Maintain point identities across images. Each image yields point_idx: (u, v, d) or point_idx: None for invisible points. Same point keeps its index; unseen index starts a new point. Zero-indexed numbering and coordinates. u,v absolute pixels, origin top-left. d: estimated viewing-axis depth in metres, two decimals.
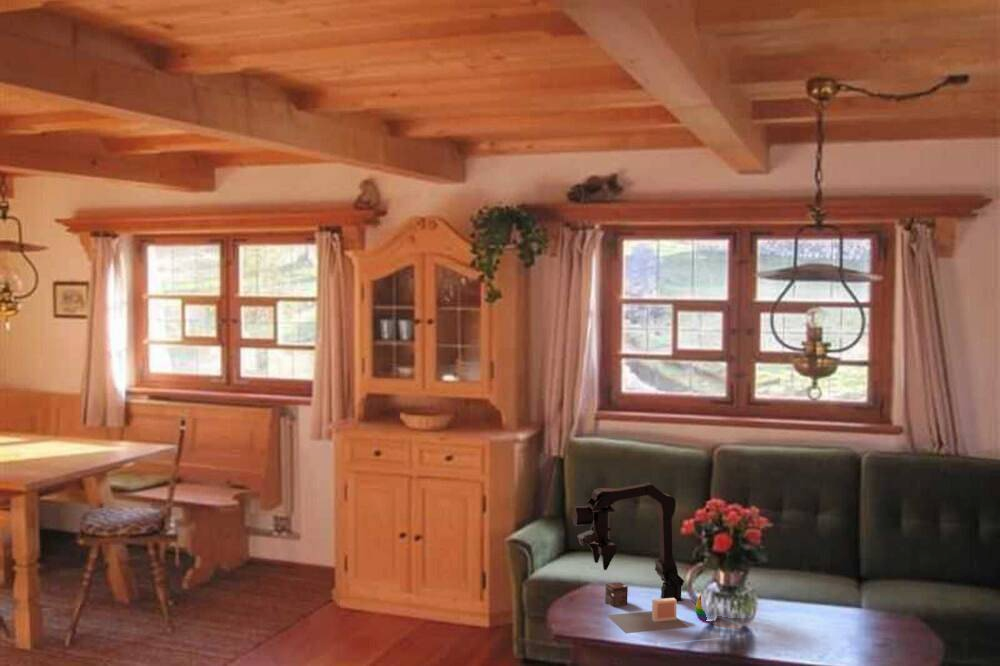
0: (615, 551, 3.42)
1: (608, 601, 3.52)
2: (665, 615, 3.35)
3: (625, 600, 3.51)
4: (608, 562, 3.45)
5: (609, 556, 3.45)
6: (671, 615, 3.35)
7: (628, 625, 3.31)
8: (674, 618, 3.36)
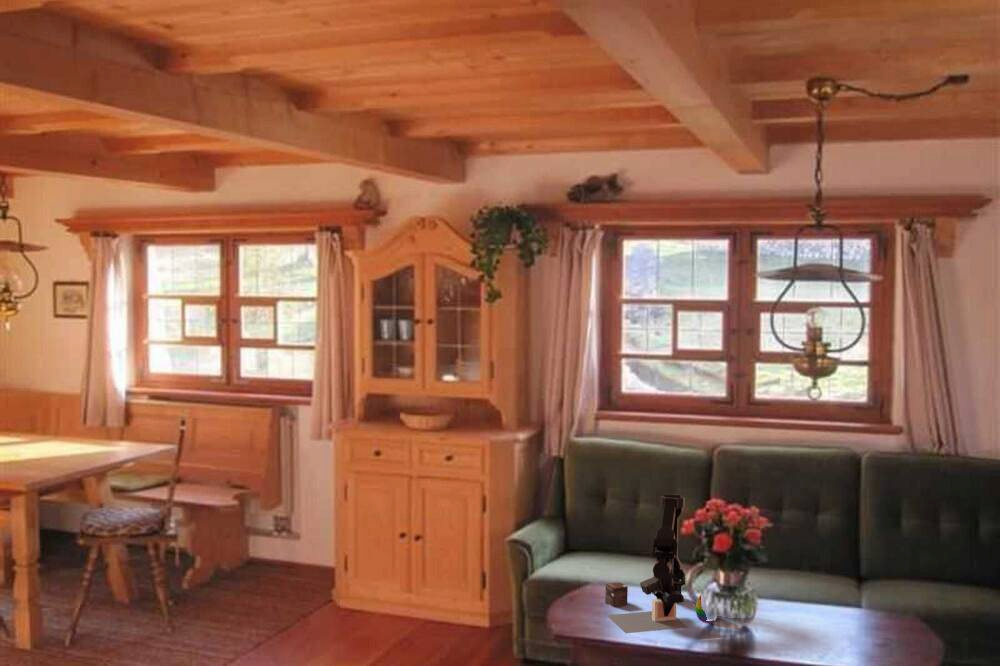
0: (681, 600, 3.27)
1: (608, 601, 3.52)
2: None
3: (625, 600, 3.51)
4: (669, 608, 3.34)
5: (670, 602, 3.33)
6: (671, 615, 3.35)
7: (628, 625, 3.31)
8: (674, 618, 3.36)
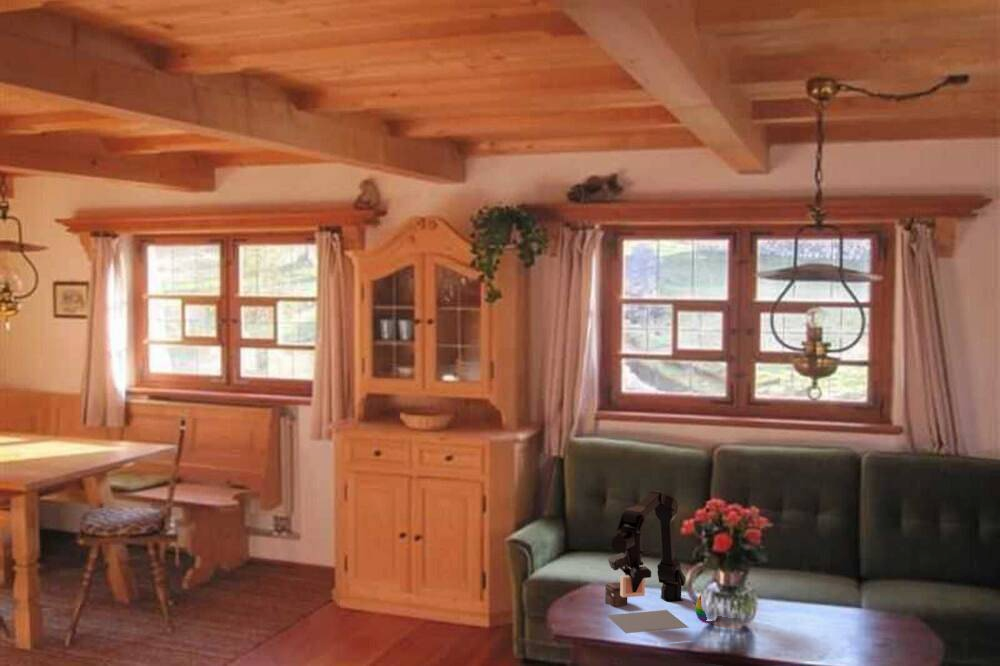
0: (649, 576, 3.24)
1: (608, 601, 3.52)
2: None
3: (625, 600, 3.51)
4: (637, 584, 3.30)
5: (638, 578, 3.30)
6: (639, 591, 3.32)
7: (628, 625, 3.31)
8: (642, 594, 3.33)
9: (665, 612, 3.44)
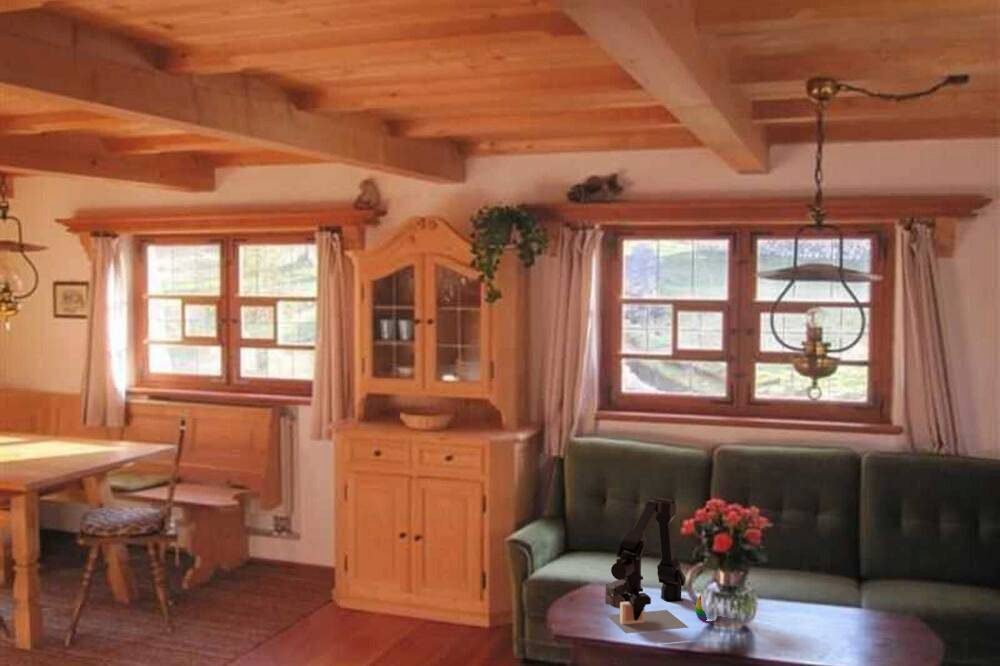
0: (648, 602, 3.24)
1: (608, 601, 3.52)
2: (632, 617, 3.32)
3: None
4: (639, 612, 3.29)
5: (640, 606, 3.29)
6: (639, 618, 3.32)
7: (628, 625, 3.31)
8: (642, 621, 3.33)
9: (665, 612, 3.44)
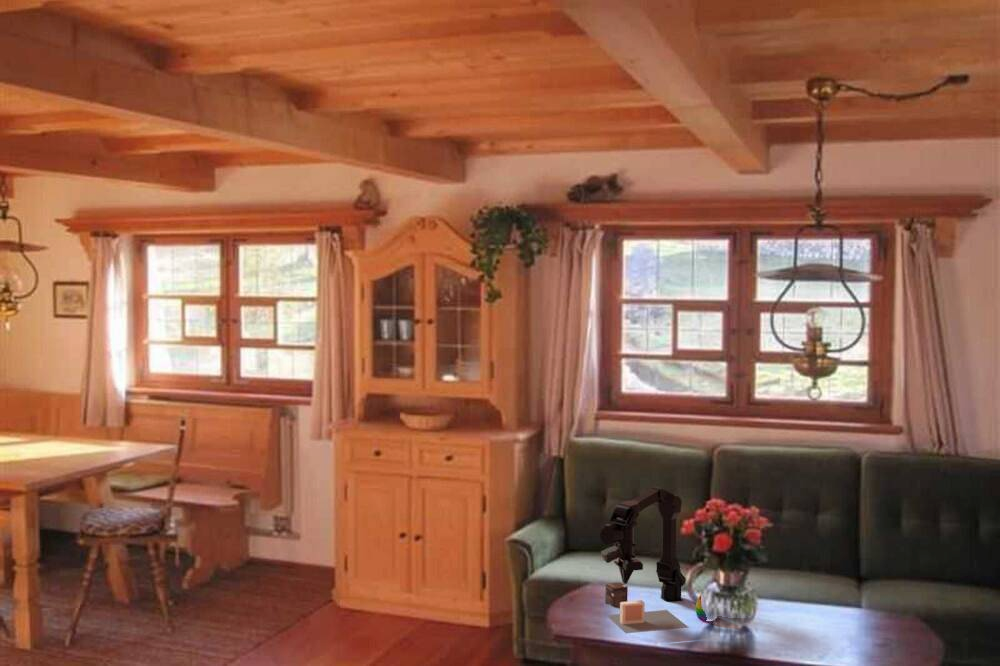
0: (640, 568, 3.31)
1: (608, 601, 3.52)
2: (632, 617, 3.32)
3: (625, 600, 3.51)
4: (628, 576, 3.38)
5: None
6: (639, 618, 3.32)
7: (628, 625, 3.31)
8: (642, 621, 3.33)
9: (665, 612, 3.44)
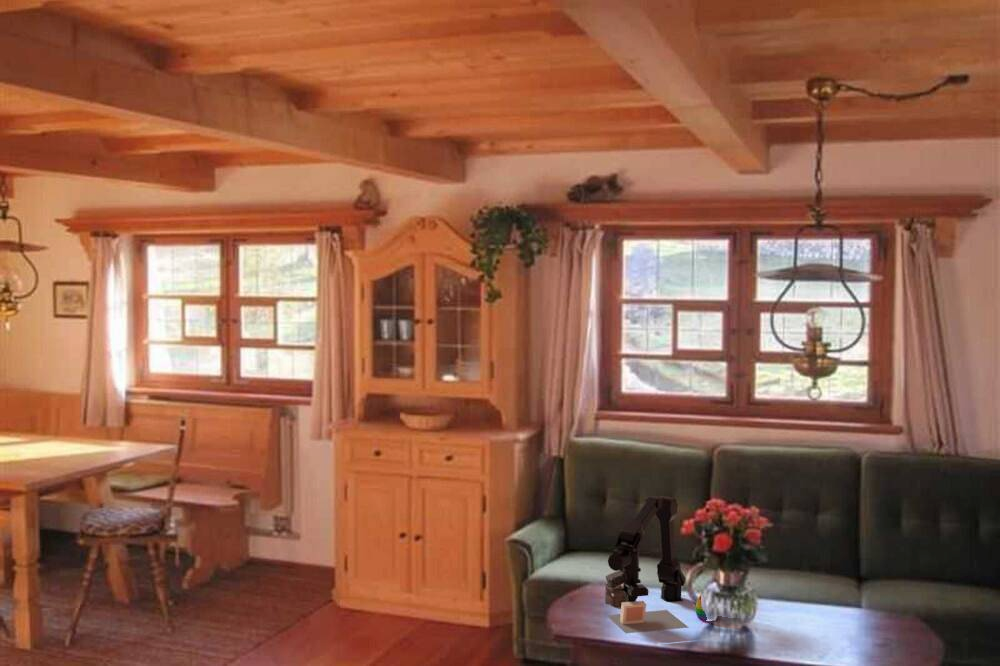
0: (646, 594, 3.26)
1: (608, 601, 3.52)
2: (633, 618, 3.31)
3: (625, 600, 3.51)
4: (633, 601, 3.34)
5: None
6: (639, 618, 3.32)
7: (628, 625, 3.31)
8: (642, 621, 3.33)
9: (665, 612, 3.44)
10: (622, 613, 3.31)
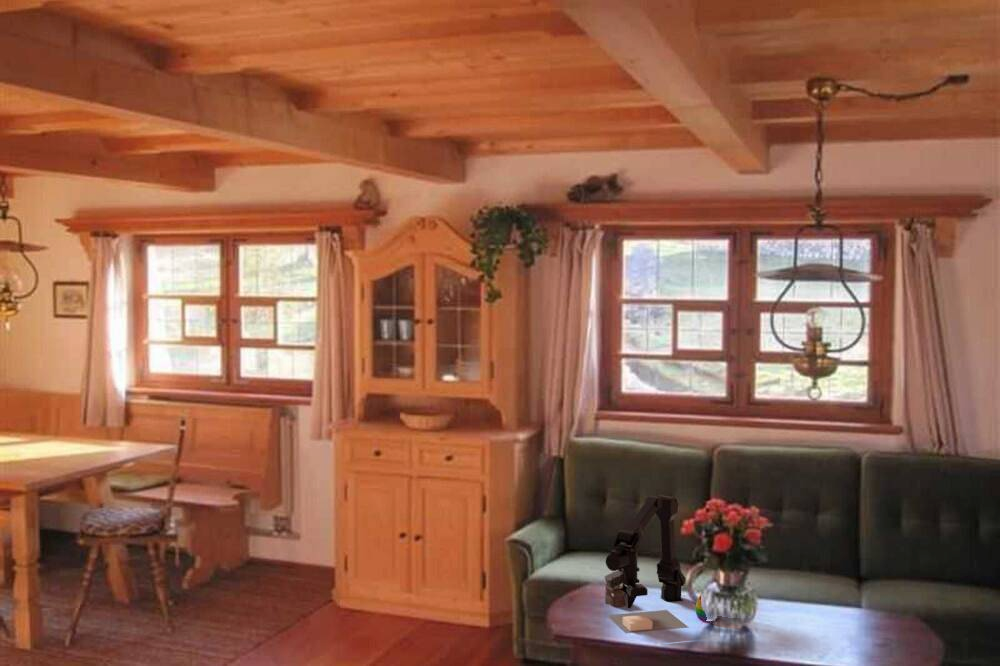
0: (645, 593, 3.28)
1: (608, 601, 3.52)
2: None
3: None
4: (632, 600, 3.36)
5: None
6: None
7: None
8: None
9: (665, 612, 3.44)
10: (626, 624, 3.28)
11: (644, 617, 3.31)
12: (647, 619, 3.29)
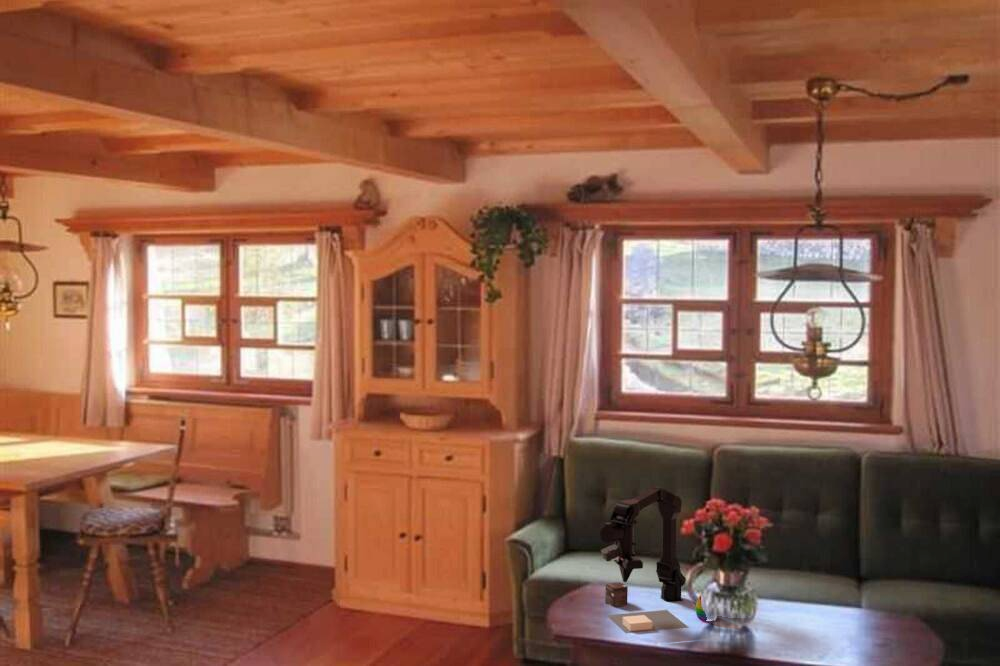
0: (640, 567, 3.31)
1: (608, 601, 3.52)
2: None
3: (625, 600, 3.51)
4: (628, 574, 3.38)
5: None
6: None
7: None
8: None
9: (665, 612, 3.44)
10: (626, 624, 3.28)
11: (644, 617, 3.31)
12: (647, 619, 3.29)
